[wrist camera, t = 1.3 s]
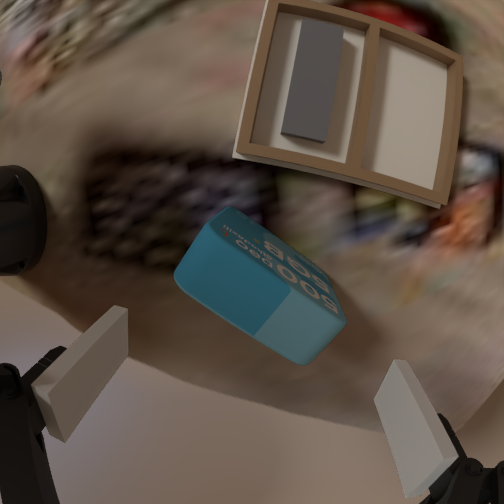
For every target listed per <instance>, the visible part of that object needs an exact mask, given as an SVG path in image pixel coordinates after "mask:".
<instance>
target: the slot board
mask: <svg viewBox="0 0 504 504" xmlns="http://www.w3.org/2000/svg"><path fill="white" fill-rule="evenodd" d="M302 19H307V20H312V21H317V22H321V23H326V24H330V25H334V26H338V27H341V28H344V34H343V41H342V48H341V55H340V62H339V68H338V75H337V81H336V87H335V93H334V99H333V105H332V111H331V116H330V122H329V127H328V133H327V138H326V142H324V143H323V144H322V143H317V142H313V141H309V140H304V139H300V138H295V137H290V136H286V135H281V128H282V123H283V118H284V113H285V108H286V103H287V97H288V92H289V87H290V82H291V77H292V71H293V66H294V61H295V56H296V51H297V45H298V40H299V35H300V29H301V24H302ZM462 91H463V57H462V56H460V55H458V54H457V53H455V52H453V51H451V50H449V49H447V48H445V47H443V46H441V45H439V44H437V43H435V42H433V41H431V40H429V39H426V38H424V37H422V36H420V35H417V34H415V33H413V32H410V31H408V30H405V29H403V28H400V27H398V26H395V25H393V24H390V23H387V22H384V21H381V20H379V19H376V18H373V17H370V16H366V15H363V14H360V13H357V12H353V11H350V10H346V9H342V8H339V7H335V6H331V5H327V4H322V3H318V2H313V1H308V0H266V3H265V7H264V11H263V16H262V20H261V24H260V28H259V32H258V37H257V41H256V45H255V50H254V54H253V59H252V63H251V68H250V72H249V77H248V82H247V86H246V91H245V96H244V101H243V105H242V110H241V115H240V120H239V125H238V130H237V135H236V140H235V146H234V151H233V156H232V158H237V159H243V160H249V161H254V162H260V163H265V164H270V165H275V166H280V167H285V168H290V169H294V170H299V171H304V172H308V173H313V174H317V175H321V176H325V177H330V178H334V179H338V180H342V181H346V182H350V183H354V184H357V185H361V186H365V187H369V188H372V189H376V190H379V191H383V192H386V193H390V194H393V195H397V196H400V197H403V198H407V199H410V200H413V201H416V202H419V203H422V204H426V205H429V206H432V207H435V208H438V209H440V206H441V204H442V205H445V206H447V202H448V197H449V193H450V188H451V183H452V177H453V172H454V166H455V160H456V153H457V146H458V138H459V129H460V120H461V108H462Z"/></svg>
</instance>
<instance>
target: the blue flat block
mask: <svg viewBox="0 0 504 504" xmlns="http://www.w3.org/2000/svg"><path fill="white" fill-rule="evenodd" d="M174 279H175V282H176V284H177V285H178V286H179V288H180V289H181V290H182V291H183V292H185V293H186V294H187V295H189V296H190V297H191V298H193V299H194V300H196V301H197V302H199V303H200V304H202V305H203V306H205V307H206V308H208V309H209V310H211V311H212V312H214V313H215V314H217V315H218V316H220V317H221V318H223V319H224V320H226V321H227V322H229V323H230V324H232V325H233V326H235V327H237V328H238V329H240V330H241V331H243V332H244V333H246V334H248V335H249V336H251V337H252V338H254V339H255V340H257V341H259V342H260V343H262V344H264V345H265V346H267V347H268V348H270V349H272V350H273V351H275V352H277V353H278V354H280V355H282V356H283V357H285V358H287V359H288V360H290V361H292V362H293V363H295V364H298V365H308V364H309V363H310V362H311V361H312V360H313V359H314V358H315V357H316V356H317V355H318V354H319V353H320V352H321V351H322V350H323V349H324V348H325V347H326V346H327V345H328V344H329V343H330V342H331V341H332V340H333V339H334V337H335V336H336V335H337V334H338V333H339V332H340V331H341V330H342V329H343V328H344V327H345V325H346V324H347V319H346V317H345V314H344V312H343V310H342V308H341V305H340V303H339V301H338V299H337V297H336V294H335V292H334V290H333V288H332V286H331V283H330V281H329V279H328V277H327V275H326V274H325V273H324V272H323V271H322V270H321V269H320V268H319V267H317V266H316V265H315V264H314V263H312V262H311V261H309V260H308V259H307V258H305V257H304V256H303V255H301V254H300V253H298V252H297V251H296V250H294V249H293V248H292V247H290V246H289V245H287V244H286V243H285V242H283V241H282V240H280V239H279V238H278V237H276V236H275V235H273V234H272V233H271V232H269V231H268V230H266V229H265V228H264V227H262V226H261V225H259V224H258V223H257V222H255V221H254V220H252V219H251V218H250V217H248V216H247V215H245V214H244V213H242V212H241V211H239V210H238V209H236V208H234V207H231V206H228V207H226V208H225V209H223V210H222V211H221V212H219V213H218V214H217V215H216V216H214V217H213V218H212V219H210V220H209V221H208V222H207V223H206V224H205V225H204V226H203V228H202V229H201V231H200V232H199V234H198V235H197V237H196V238H195V240H194V242H193V243H192V245H191V246H190V248H189V249H188V251H187V252H186V254H185V255H184V257H183V259H182V260H181V262H180V263H179V265H178V266H177V268H176V270H175V271H174Z"/></svg>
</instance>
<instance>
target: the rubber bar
mask: <svg viewBox="0 0 504 504" xmlns="http://www.w3.org/2000/svg"><path fill="white" fill-rule="evenodd" d="M343 34H344V28H341V27H338V26H334V25H330V24H326V23H321V22H317V21H312V20H307V19H302V24H301V29H300V35H299V40H298V45H297V51H296V56H295V61H294V66H293V71H292V77H291V82H290V87H289V92H288V97H287V103H286V108H285V113H284V118H283V123H282V128H281V135H286V136H290V137H295V138H300V139H304V140H309V141H313V142H317V143H322V144H323V143H324V142H326V138H327V133H328V127H329V122H330V116H331V111H332V105H333V99H334V93H335V87H336V81H337V75H338V68H339V62H340V55H341V48H342V41H343Z"/></svg>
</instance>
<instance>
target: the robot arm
mask: <svg viewBox="0 0 504 504" xmlns="http://www.w3.org/2000/svg"><path fill="white" fill-rule="evenodd" d="M1 81H2V74H1V71H0V85H1ZM46 231H47V223H46V212H45V206H44V202H43V198H42V195H41V192H40V190H39V187H38V185H37V183H36V182H35V180H34V178H33V177H32V176H31V174H30V173H29V172H28V171H27V170H25V169H24V168H22V167H20V166H17V165H8V166H0V276H15V275H19V274H22V273H24V272H26V271H28V270H30V269H31V268H33V267H34V266H35V265H36V264H37V262H38V261H39V259H40V257H41V255H42V253H43V250H44V246H45V241H46ZM128 355H129V353H128V309H127V308H123V307H120V306H116V305H114V306H112V307H111V308H110V309H109V310H108V311H107V312H106V313H105V314H104V315H103V316H102V317H100V318H99V319H98V320H97V321H96V322H95V323H94V324H93V325H92V326H91V327H90V328H89V329H88V330H86V331H85V332H84V333H83V334H82V335H81V336H80V337H79V338H78V339H77V340H76V341H75V342H74V343H73V344H72V345H71V346H70V347H69V348H65V347H63V346H59V347H56V348H54V349H52V350H50V351H49V352H48V353H47V354H46V355H45V356H44V357H43V358H41V359H40V360H39V361H38V363H36V364H35V365H34V366H33V367H32V368H31V369H30V370H29V371H27V372H26V373H25V374H24V375H23V376H22V377H20V373H19V370H18V369H17V368H16V366H14V365H12V364H9V363H1V364H0V492H1V498H2V503H3V504H60V503H59V500H58V496H57V493H56V490H55V486H54V482H53V479H52V475H51V471H50V467H49V462H48V458H47V453H46V449H45V443H44V438H43V435H42V432H41V431H42V430H43V429H44V427H45V426H46V427H47V430H48V432H49V434H50V435H51V436H53V437H55V438H57V439H59V440H60V441H63V442H64V443H65V442H66V441H67V439H68V438H69V437H70V435H71V433H72V432H73V431H74V429H75V428H76V427H77V425H78V424H79V422H80V421H81V419H82V418H83V416H84V415H85V414H86V412H87V411H88V410H89V408H90V407H91V405H92V404H93V402H94V401H95V400H96V398H97V397H98V396H99V394H100V393H101V391H102V390H103V389H104V387H105V386H106V384H107V383H108V382H109V380H110V379H111V378H112V376H113V375H114V374H115V372H116V371H117V369H118V368H119V367H120V365H121V364H122V363H123V361H124V360H125V359H126V357H127V356H128ZM373 400H374V403H375V405H376V408H377V411H378V414H379V417H380V420H381V422H382V425H383V428H384V431H385V434H386V437H387V440H388V443H389V446H390V449H391V452H392V455H393V459H394V462H395V465H396V468H397V472H398V475H399V478H400V481H401V485H402V488H403V492H404V495H405V498H411V497H417V496H421V495H422V494H423V493H424V492H425V491H426V490H427V489H428V488H429V490H430V495H428V496H427V497H426V498H425V499H424V500H423V501H422V502H421V503H419V504H489V503H490V502H491V504H504V461H501V462H500V463H498V465H497V466H496V467H495V468H483V465H482V464H481V463H480V462H479V461H478V460H476V459H474V458H467V456H466V454H465V452H464V450H463V448H462V446H461V444H460V442H459V440H458V439H457V437H456V436H455V433H454V431H453V430H452V427H451V425H450V424H449V422H448V420H447V419H446V418H445V417H444V416H443V415H442V414H441V413H439V414H437V413H436V411H435V409H434V408H433V406H432V404H431V402H430V400H429V399H428V397H427V395H426V393H425V391H424V390H423V388H422V386H421V384H420V383H419V381H418V379H417V378H416V376H415V374H414V372H413V371H412V369H411V367H410V366H409V364H408V362H407V361H406V360H399V359H394V360H393V362H392V364H391V366H390V368H389V370H388V372H387V374H386V376H385V378H384V380H383V382H382V384H381V386H380V388H379V390H378V392H377V394H376V396H375V398H374V399H373Z"/></svg>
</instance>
